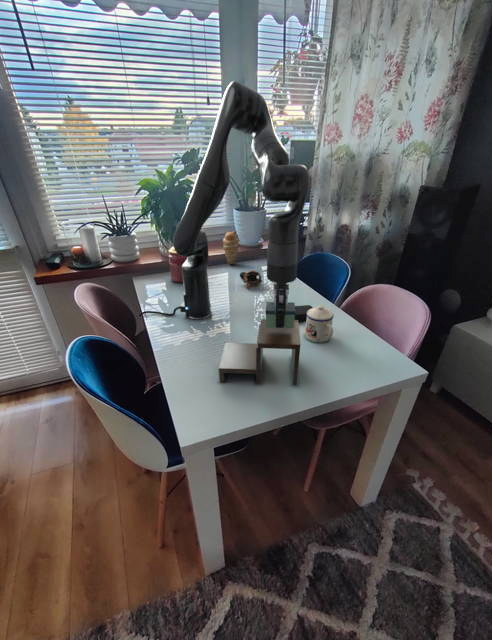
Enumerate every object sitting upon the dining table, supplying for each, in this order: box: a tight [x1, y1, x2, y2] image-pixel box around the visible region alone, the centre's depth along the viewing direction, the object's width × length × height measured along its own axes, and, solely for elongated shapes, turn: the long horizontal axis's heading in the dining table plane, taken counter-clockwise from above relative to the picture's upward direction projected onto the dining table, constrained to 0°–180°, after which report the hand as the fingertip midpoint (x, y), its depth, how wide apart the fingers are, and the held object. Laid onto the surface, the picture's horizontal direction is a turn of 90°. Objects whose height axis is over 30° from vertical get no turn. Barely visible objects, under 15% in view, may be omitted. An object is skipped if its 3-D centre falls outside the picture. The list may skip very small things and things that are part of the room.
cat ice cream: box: [222, 229, 240, 265], centre depth 178 cm, size 9×8×18 cm
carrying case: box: [294, 304, 314, 322], centre depth 126 cm, size 11×3×15 cm
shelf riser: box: [218, 318, 301, 386], centre depth 94 cm, size 22×14×14 cm, turn 86°
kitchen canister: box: [167, 245, 187, 283], centre depth 159 cm, size 13×13×18 cm
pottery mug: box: [239, 270, 263, 290], centre depth 154 cm, size 12×9×8 cm
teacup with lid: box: [304, 304, 335, 343], centre depth 110 cm, size 12×9×12 cm
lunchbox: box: [265, 301, 296, 328], centre depth 87 cm, size 8×6×5 cm
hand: (279, 321), depth 88 cm, fingers closed on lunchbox, 5 cm apart
